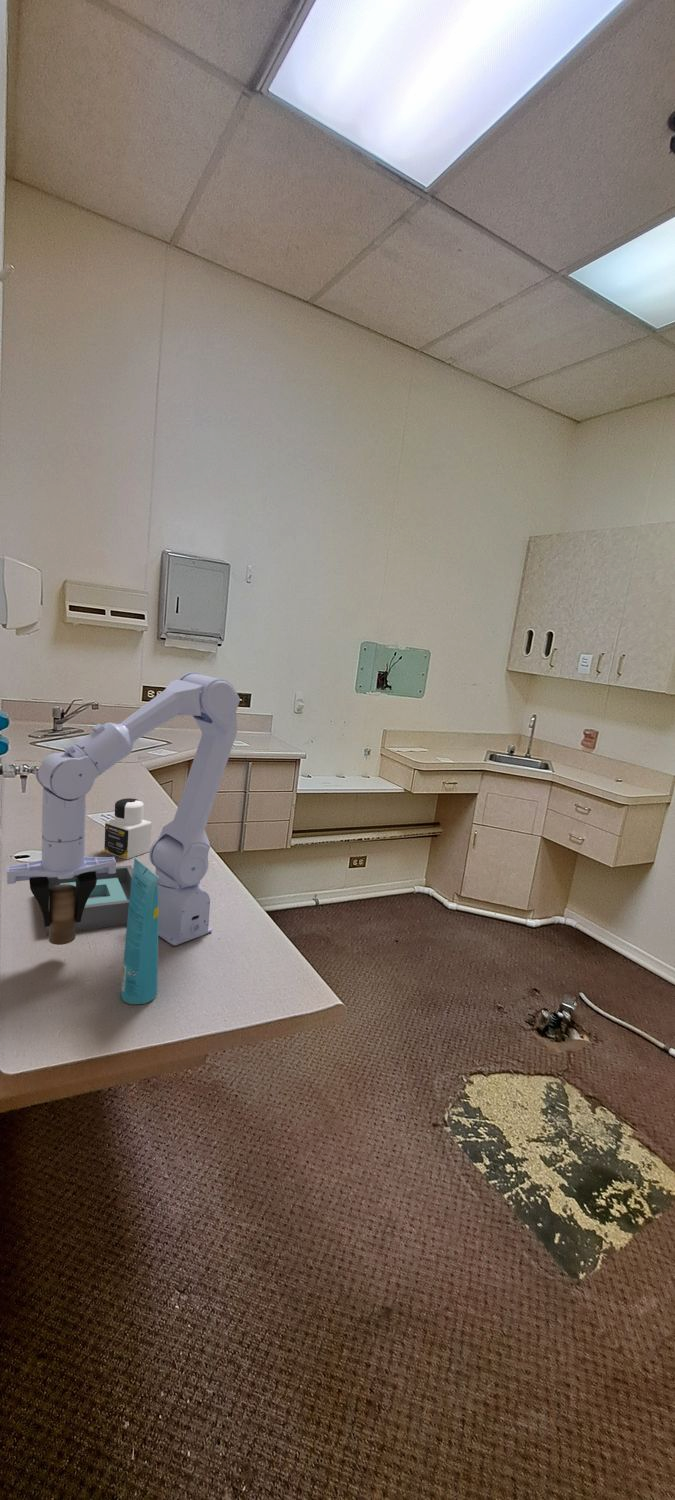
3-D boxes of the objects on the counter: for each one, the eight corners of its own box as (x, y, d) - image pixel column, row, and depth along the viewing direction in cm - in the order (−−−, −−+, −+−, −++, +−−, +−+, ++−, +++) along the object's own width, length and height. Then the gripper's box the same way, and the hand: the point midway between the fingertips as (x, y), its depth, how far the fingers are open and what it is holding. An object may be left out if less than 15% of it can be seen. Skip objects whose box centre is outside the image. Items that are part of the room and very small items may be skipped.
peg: (79, 939, 91) (80, 890, 89) (55, 947, 88) (56, 896, 87) (68, 930, 93) (68, 882, 92) (44, 937, 90) (45, 888, 89)
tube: (167, 1001, 84) (175, 872, 81) (136, 1014, 81) (142, 881, 77) (141, 977, 89) (147, 855, 86) (109, 988, 86) (114, 862, 82)
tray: (147, 921, 106) (148, 900, 105) (46, 935, 98) (46, 912, 97) (130, 884, 119) (131, 865, 118) (40, 893, 111) (40, 873, 110)
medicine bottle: (103, 851, 134) (105, 800, 131) (128, 843, 140) (130, 794, 138) (126, 860, 131) (128, 807, 128) (150, 851, 137) (153, 801, 135)
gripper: (7, 849, 80) (7, 942, 83) (120, 841, 88) (117, 926, 90) (6, 832, 86) (6, 919, 89) (112, 825, 94) (110, 906, 96)
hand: (62, 921), depth 90 cm, fingers closed on peg, 4 cm apart
